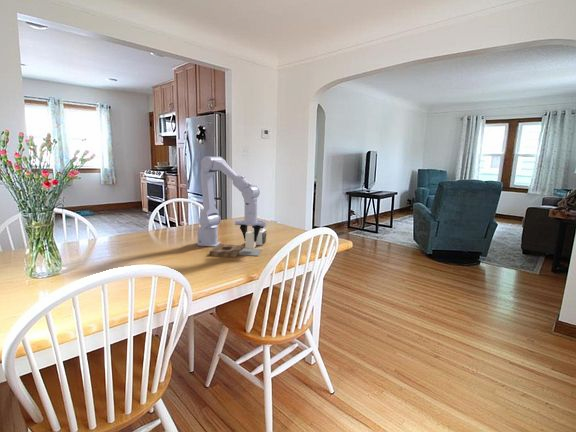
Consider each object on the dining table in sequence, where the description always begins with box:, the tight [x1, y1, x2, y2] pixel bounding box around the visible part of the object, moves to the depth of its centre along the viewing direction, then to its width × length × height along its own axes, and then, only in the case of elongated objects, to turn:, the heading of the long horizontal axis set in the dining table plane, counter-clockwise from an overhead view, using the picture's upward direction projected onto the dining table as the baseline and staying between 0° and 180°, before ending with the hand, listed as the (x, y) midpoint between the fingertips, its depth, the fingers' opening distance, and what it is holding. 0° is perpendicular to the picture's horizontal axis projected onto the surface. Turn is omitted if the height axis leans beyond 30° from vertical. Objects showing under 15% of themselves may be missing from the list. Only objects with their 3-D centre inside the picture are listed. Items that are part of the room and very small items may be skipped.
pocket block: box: [209, 243, 243, 258], centre depth 148 cm, size 12×12×2 cm
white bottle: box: [250, 219, 267, 246], centre depth 163 cm, size 7×7×12 cm
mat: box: [238, 247, 263, 257], centre depth 149 cm, size 9×9×1 cm
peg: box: [244, 230, 257, 249], centre depth 147 cm, size 4×4×7 cm
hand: (250, 240), depth 148 cm, fingers closed on peg, 4 cm apart
